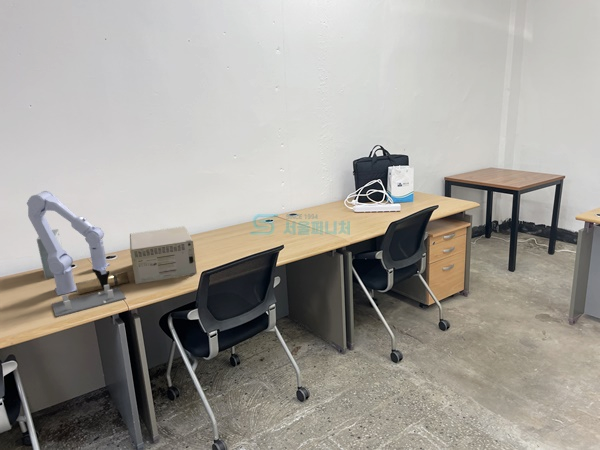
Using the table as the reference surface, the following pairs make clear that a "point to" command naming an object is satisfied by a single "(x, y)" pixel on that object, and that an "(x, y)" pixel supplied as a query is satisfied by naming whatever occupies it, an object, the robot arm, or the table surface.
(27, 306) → the table surface
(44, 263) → the hard drive box
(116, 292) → the gray cradle stand
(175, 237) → the beige vented electronics case
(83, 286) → the brass tube
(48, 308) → the table surface
